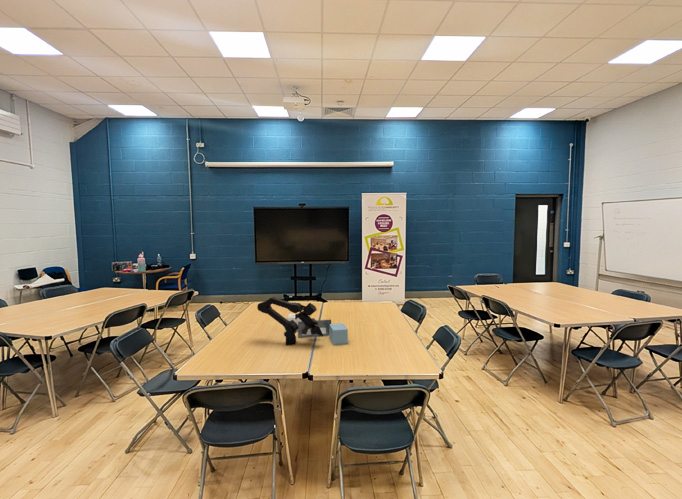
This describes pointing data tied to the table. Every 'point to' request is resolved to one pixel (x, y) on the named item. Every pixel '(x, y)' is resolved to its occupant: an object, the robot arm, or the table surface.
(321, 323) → the dark grey case
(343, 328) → the pale blue box
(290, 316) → the cable organizer
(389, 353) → the table surface
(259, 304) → the robot arm
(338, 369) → the table surface
